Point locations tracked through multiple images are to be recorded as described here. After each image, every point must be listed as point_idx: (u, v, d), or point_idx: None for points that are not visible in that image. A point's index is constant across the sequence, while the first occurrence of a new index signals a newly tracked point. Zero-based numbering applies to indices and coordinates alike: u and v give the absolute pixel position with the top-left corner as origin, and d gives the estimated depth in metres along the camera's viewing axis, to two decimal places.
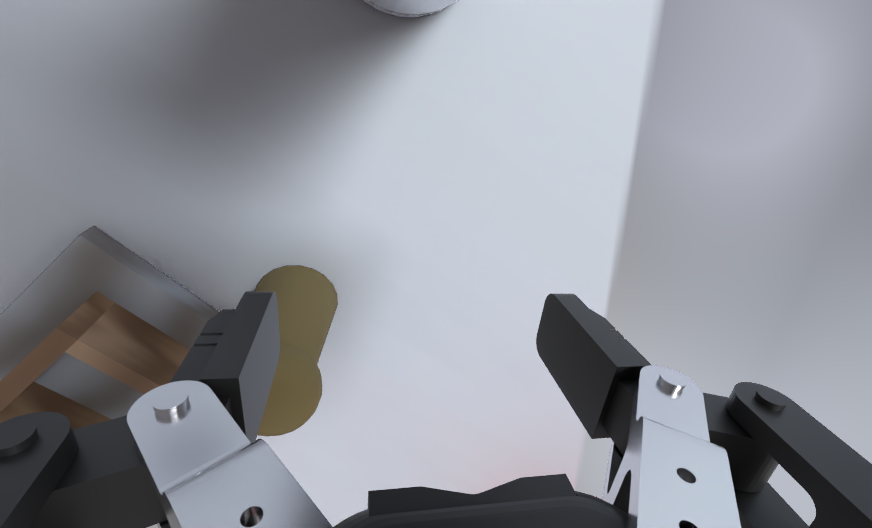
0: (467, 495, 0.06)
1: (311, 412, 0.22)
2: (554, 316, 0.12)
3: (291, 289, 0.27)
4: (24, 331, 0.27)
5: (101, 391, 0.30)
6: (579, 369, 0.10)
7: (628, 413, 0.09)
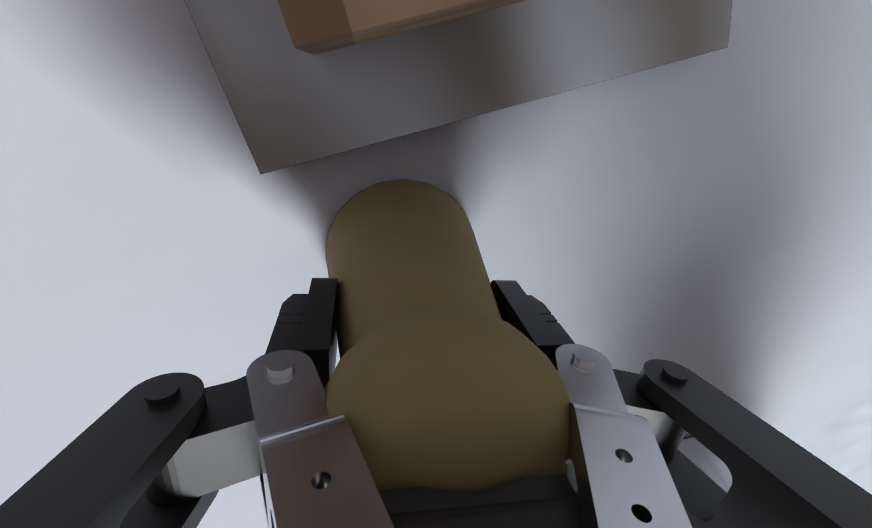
0: (466, 494, 0.06)
1: None
2: None
3: None
4: None
5: None
6: None
7: None
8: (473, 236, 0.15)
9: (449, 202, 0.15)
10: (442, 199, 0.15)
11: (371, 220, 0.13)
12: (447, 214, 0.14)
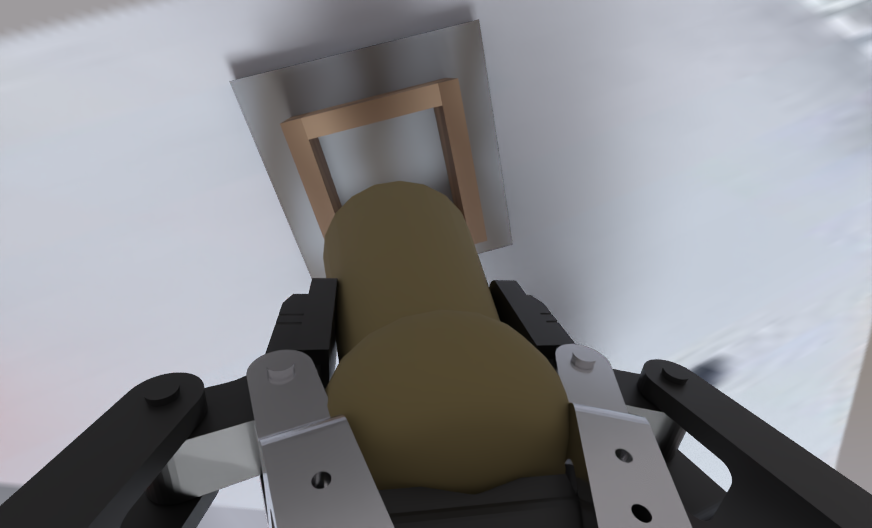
0: (467, 496, 0.06)
1: None
2: (495, 302, 0.12)
3: None
4: (475, 144, 0.29)
5: (386, 144, 0.28)
6: None
7: None
8: (470, 237, 0.15)
9: (446, 203, 0.15)
10: (439, 200, 0.15)
11: (368, 222, 0.13)
12: (444, 216, 0.14)
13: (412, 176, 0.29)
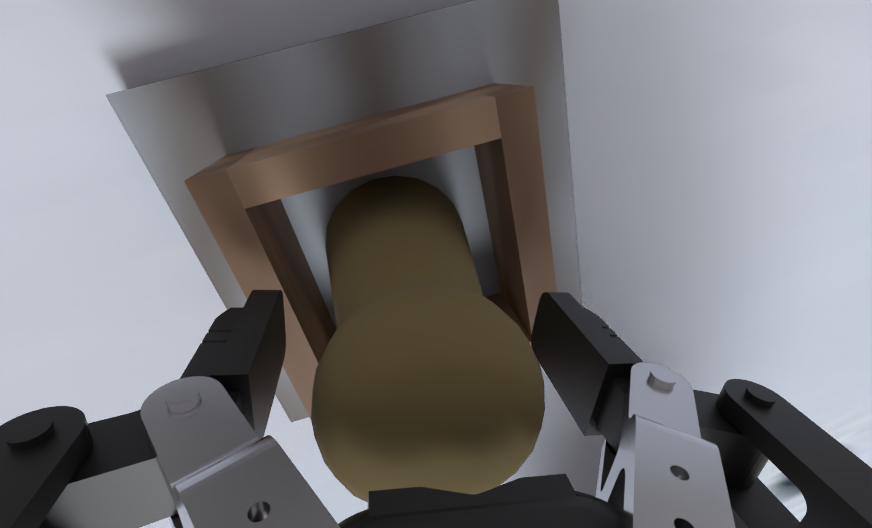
0: (467, 495, 0.06)
1: None
2: (548, 314, 0.12)
3: None
4: None
5: None
6: (572, 367, 0.11)
7: (619, 410, 0.09)
8: (461, 227, 0.16)
9: (438, 195, 0.16)
10: (432, 193, 0.16)
11: (365, 212, 0.14)
12: (435, 206, 0.15)
13: None
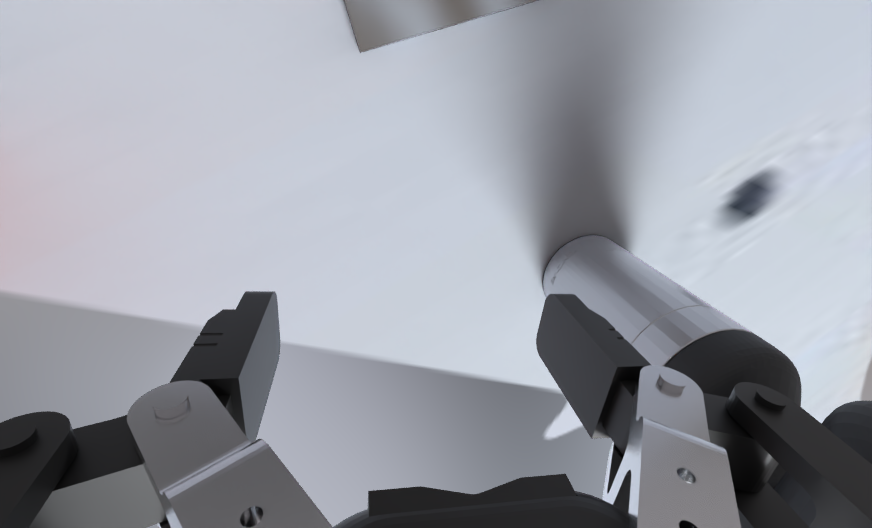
0: (466, 495, 0.06)
1: None
2: (554, 316, 0.12)
3: None
4: None
5: None
6: (579, 369, 0.10)
7: (628, 413, 0.09)
8: None
9: None
10: None
11: None
12: None
13: None
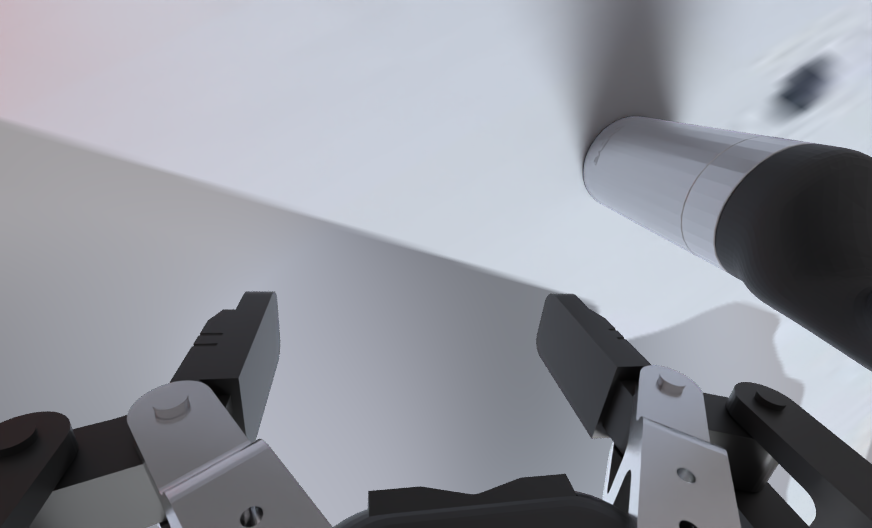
0: (467, 495, 0.06)
1: None
2: (554, 316, 0.12)
3: None
4: None
5: None
6: (579, 369, 0.10)
7: (628, 413, 0.09)
8: None
9: None
10: None
11: None
12: None
13: None
